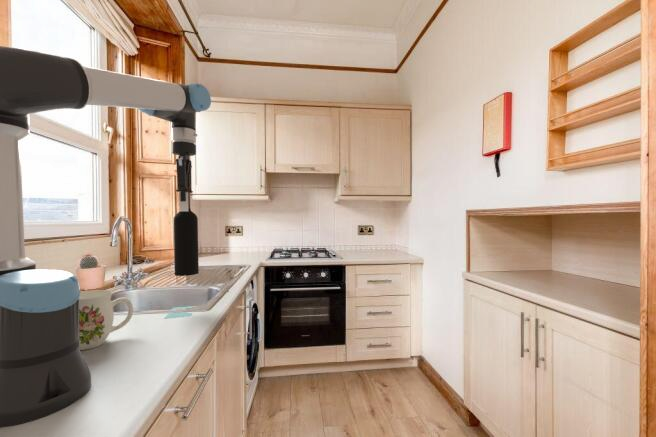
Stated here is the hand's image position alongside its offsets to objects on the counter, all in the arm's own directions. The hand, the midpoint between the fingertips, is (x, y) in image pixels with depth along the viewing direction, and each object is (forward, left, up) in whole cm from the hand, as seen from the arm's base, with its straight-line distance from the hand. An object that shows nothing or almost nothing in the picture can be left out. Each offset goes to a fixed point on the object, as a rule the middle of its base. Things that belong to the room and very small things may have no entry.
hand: (185, 211), depth 105 cm
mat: (+2, 0, -35) cm, 35 cm away
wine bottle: (0, 0, -22) cm, 22 cm away
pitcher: (-21, +19, -35) cm, 45 cm away
